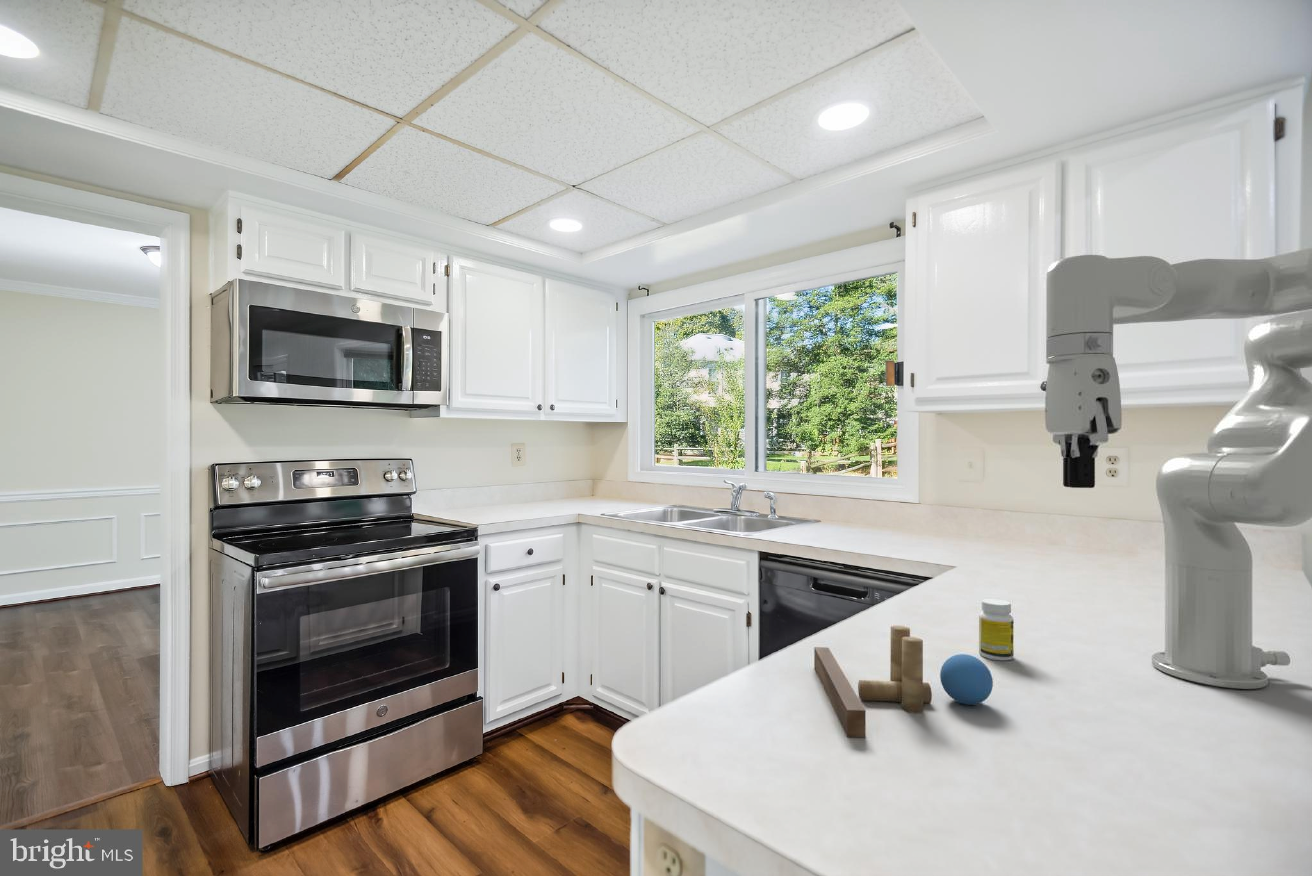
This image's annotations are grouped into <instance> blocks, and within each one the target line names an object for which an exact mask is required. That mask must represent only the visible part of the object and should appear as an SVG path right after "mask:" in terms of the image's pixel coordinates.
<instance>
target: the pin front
mask: <svg viewBox="0 0 1312 876" xmlns="http://www.w3.org/2000/svg"><path fill="white" fill-rule="evenodd" d="M857 690H858V691H857V692H858V698H859V697H860V698H859V700H860V701H871V702H873V701H874V702H897V703H898V702H899V703H902V682H897V681H890V680H870V679H869V680H868V679H867V680H866V679H861V680H858V683H857ZM932 699H933V692H932V687H931V685H930V683H929V682H923V704H930V703H931V702H932Z"/></svg>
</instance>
